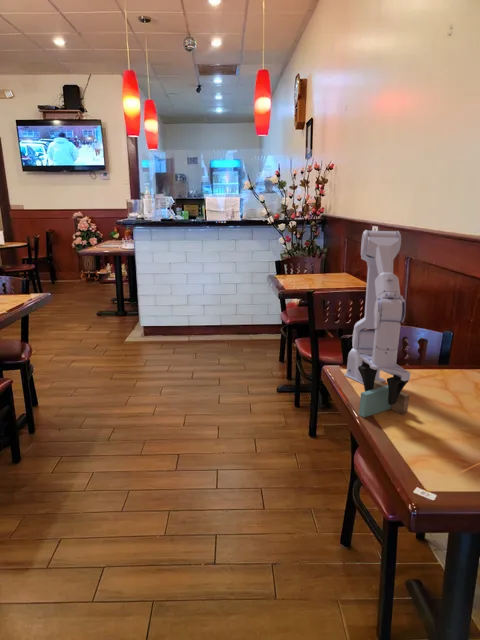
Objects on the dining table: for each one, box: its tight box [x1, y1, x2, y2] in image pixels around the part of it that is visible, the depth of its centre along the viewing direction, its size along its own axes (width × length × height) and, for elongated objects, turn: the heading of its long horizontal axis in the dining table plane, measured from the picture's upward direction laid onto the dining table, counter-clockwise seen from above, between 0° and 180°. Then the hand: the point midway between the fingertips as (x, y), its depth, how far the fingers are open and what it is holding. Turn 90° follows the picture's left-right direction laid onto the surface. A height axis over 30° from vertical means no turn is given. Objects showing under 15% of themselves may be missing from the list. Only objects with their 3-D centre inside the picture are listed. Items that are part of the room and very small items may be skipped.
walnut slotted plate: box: [373, 380, 410, 415], centre depth 119 cm, size 11×2×5 cm, turn 31°
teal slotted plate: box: [358, 384, 392, 418], centre depth 116 cm, size 2×13×6 cm, turn 122°
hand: (380, 397), depth 115 cm, fingers open, 7 cm apart
